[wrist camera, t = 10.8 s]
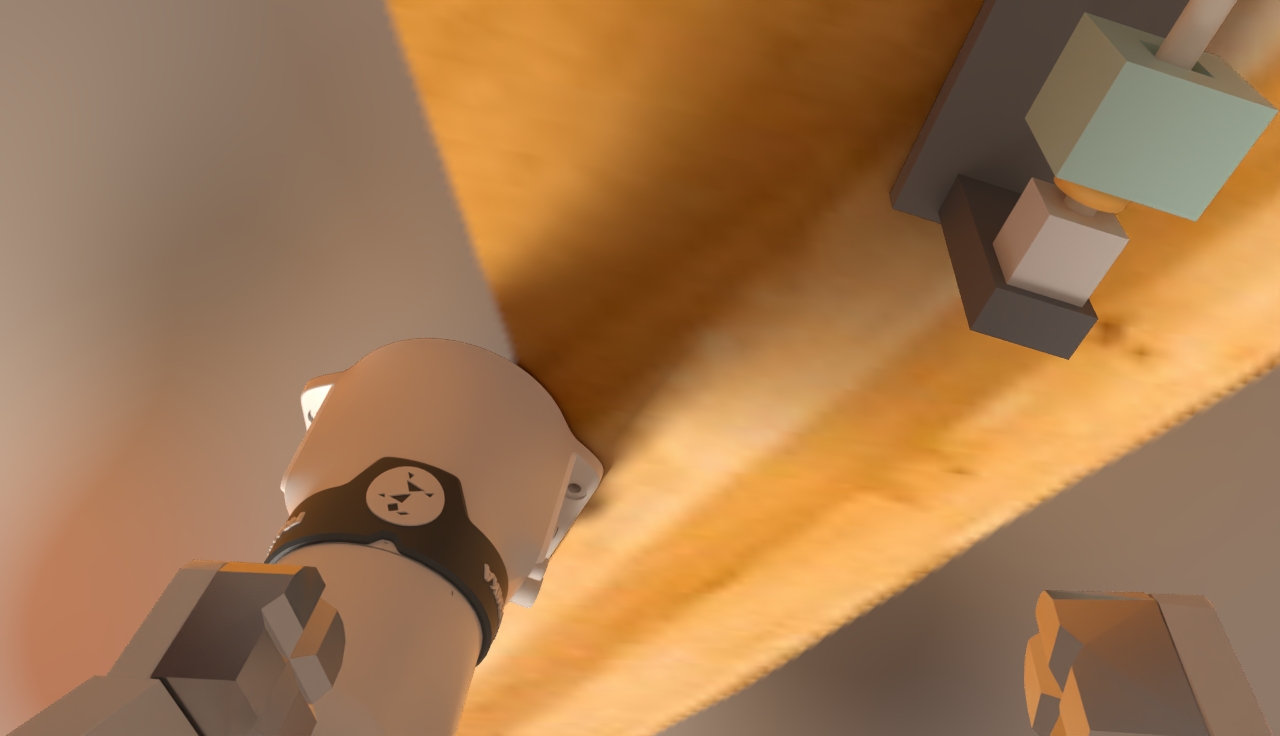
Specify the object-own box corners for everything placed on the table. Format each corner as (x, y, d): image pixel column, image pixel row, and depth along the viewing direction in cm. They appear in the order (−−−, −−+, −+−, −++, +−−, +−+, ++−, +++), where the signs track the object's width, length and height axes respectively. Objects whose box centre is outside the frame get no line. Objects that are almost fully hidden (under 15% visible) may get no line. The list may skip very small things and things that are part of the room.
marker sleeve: (1149, 158, 34) (1196, 221, 30) (1024, 118, 34) (1055, 177, 30) (1218, 55, 32) (1278, 110, 28) (1084, 11, 32) (1126, 61, 28)
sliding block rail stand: (1046, 242, 44) (1109, 384, 35) (889, 193, 43) (914, 325, 35) (1398, -308, 30) (1641, -298, 22) (1175, -388, 30) (1333, -411, 21)
